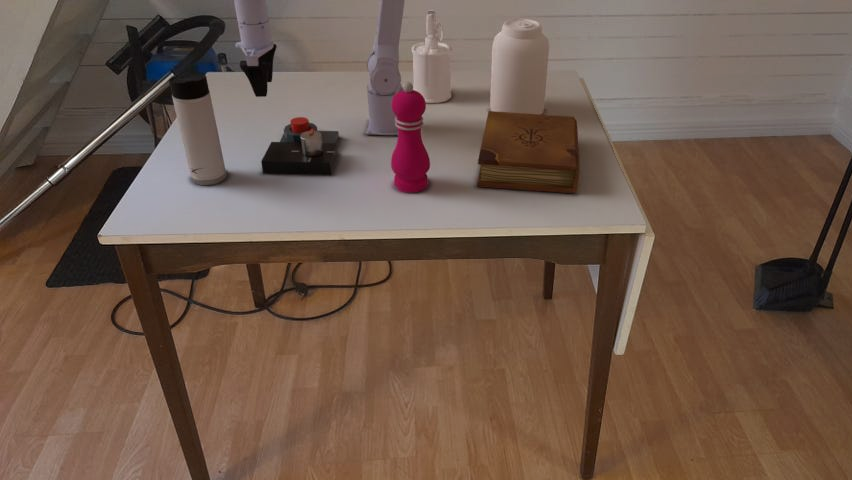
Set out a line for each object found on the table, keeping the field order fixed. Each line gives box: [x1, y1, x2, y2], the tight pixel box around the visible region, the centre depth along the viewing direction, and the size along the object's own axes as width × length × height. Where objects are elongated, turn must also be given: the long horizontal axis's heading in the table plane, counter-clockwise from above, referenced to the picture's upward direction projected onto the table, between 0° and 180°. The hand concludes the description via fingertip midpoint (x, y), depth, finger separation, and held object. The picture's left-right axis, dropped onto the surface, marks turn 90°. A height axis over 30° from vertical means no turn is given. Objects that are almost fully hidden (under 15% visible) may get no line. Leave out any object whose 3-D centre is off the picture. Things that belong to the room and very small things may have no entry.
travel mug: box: [168, 73, 227, 186], centre depth 127 cm, size 6×7×20 cm
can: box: [489, 18, 550, 115], centre depth 157 cm, size 12×12×20 cm
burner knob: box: [300, 129, 323, 157], centre depth 136 cm, size 4×4×4 cm
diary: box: [476, 110, 580, 194], centre depth 140 cm, size 23×19×6 cm
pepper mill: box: [390, 81, 431, 194], centre depth 127 cm, size 7×7×20 cm
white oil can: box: [410, 8, 453, 104], centre depth 162 cm, size 10×9×20 cm
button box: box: [279, 122, 340, 144], centre depth 145 cm, size 11×7×4 cm, turn 91°
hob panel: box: [260, 141, 339, 176], centre depth 138 cm, size 13×8×3 cm, turn 91°
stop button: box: [290, 116, 310, 133], centre depth 143 cm, size 4×4×2 cm
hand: (264, 88), depth 143 cm, fingers open, 7 cm apart
